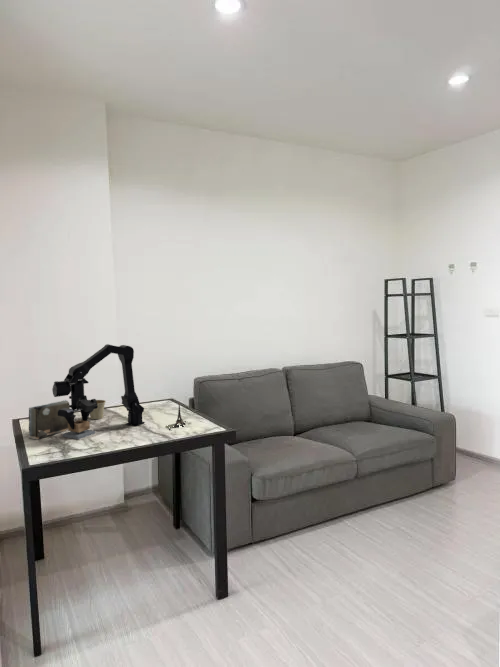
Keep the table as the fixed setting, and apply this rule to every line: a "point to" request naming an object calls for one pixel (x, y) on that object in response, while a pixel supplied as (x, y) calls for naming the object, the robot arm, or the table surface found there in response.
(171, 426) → the eiffel tower figurine
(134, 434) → the table surface
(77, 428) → the collar
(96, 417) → the flower pot
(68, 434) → the hub
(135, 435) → the table surface
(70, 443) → the table surface
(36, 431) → the radio
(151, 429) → the table surface
